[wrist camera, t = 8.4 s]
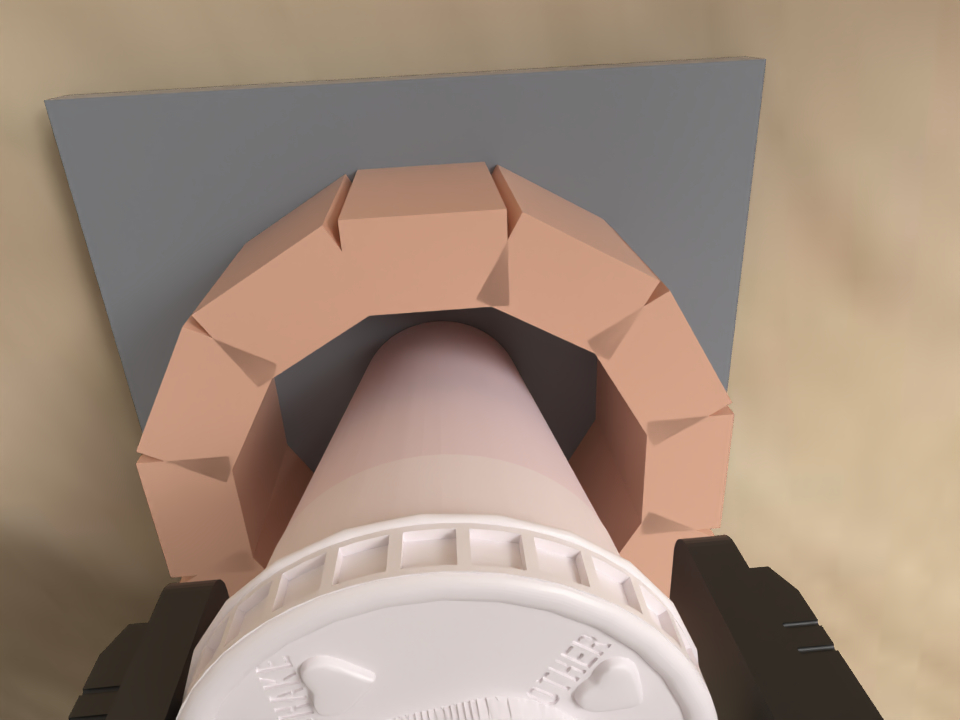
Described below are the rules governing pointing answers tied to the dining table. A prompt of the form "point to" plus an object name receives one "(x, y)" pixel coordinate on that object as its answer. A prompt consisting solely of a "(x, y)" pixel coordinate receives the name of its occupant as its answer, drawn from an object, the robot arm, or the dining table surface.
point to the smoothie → (445, 570)
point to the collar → (421, 276)
